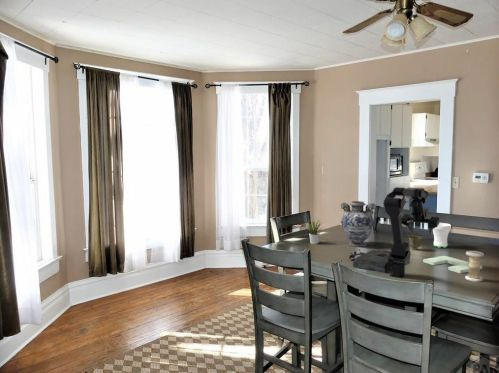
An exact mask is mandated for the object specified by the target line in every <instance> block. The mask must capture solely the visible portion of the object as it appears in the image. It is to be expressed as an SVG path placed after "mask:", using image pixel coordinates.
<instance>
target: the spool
mask: <svg viewBox="0 0 499 373" xmlns="http://www.w3.org/2000/svg"><path fill="white" fill-rule="evenodd" d="M465 255H466V256H468V262H469V272H468V274H467V275H465V277H464V278H465V280H467V281H469V282H473V283H474V282H475V283H479V282H480V283H481V282H483V281H484V280H483V279H484V277H483V276H481V275H480V273H481V272H480V270H481V269H480V265H481V258H482V257H484V255H485V254H484V252H481V251H477V250H467V251H466V252H465Z"/></svg>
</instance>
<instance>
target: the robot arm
mask: <svg viewBox="0 0 499 373" xmlns="http://www.w3.org/2000/svg"><path fill="white" fill-rule="evenodd" d="M397 196H398V197H397ZM429 196H430V194H429V192H428V191H427V190H425V188H423V187H410V186H409V187H407V188H406V187H398V186H396V187H393V190H392V191H391V192H389V193H388V194H387V195H386V196H385V198H384V200H383V203H382V204H383V207H384V212H385V213H386V214H387V216H389V219H390V226H391V234H392V241H393V244H392V246H391V248H390V251H391V252H390V254H389V257H388V262H391V263H392V269H391V273H390V274H389V276H390V277H395V278H401V279H403V278H405V277H407V276H408V273H406V266H407V265H409V264H410V261H411V255H412V254H411V250H410V243H409V242H406V241H405V236H404V230H403V226H406V227H407V229H408V230H410V231H411V233H413V234H414V233H415V229H414V224H413V223H414V222H415V223H424V224H425V223H426V224H428V232H429V235H430V236H432V235H433V228H436V227H438V225H439V223H441V218H440V217H438V216H431V217H430V218H427V217H428V215H429V213H430V212H429V211H430V208H429V207H424V204H425V203H426V202H427V200H428V199H429ZM399 197H402V198H399ZM406 199H410V203H409V207H410V209H411V214H408V213H407V214H406V213H403V212H404V209H405V205H406V204H407V200H406ZM402 213H403V214H402ZM401 214H402V215H401ZM394 258H396V259H394ZM399 259H402V260H399Z"/></svg>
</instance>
